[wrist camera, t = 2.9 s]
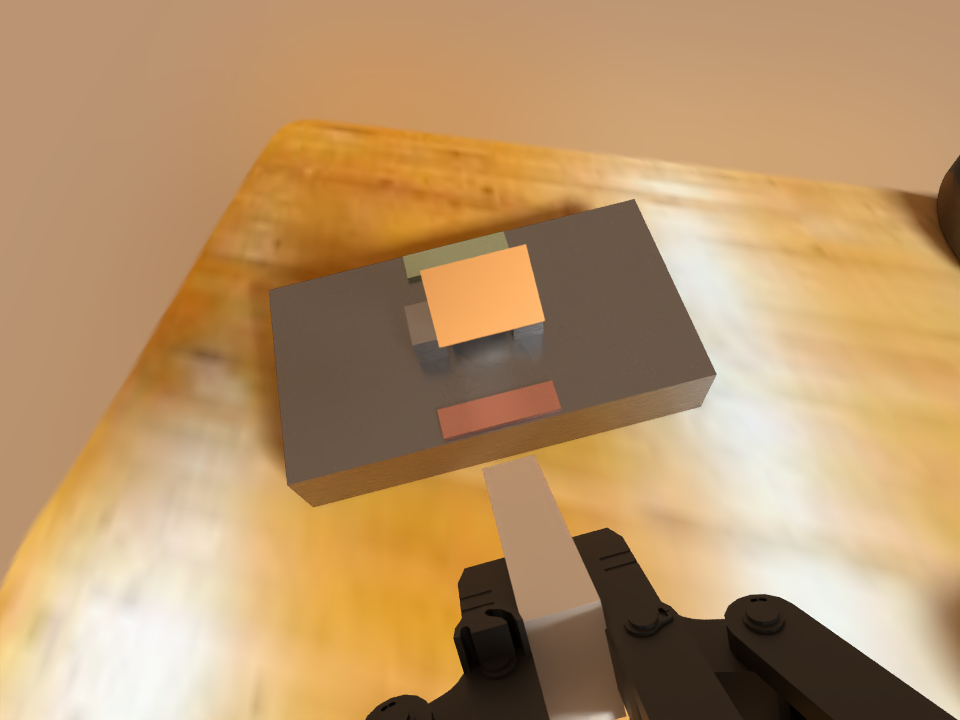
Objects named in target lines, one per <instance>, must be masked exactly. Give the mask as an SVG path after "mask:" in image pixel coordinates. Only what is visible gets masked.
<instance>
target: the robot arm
mask: <svg viewBox="0 0 960 720" xmlns="http://www.w3.org/2000/svg"><path fill="white" fill-rule="evenodd" d="M937 207H938V216H939V221H940V224H941V228H942V230H943V233H944V235H945V237H946V239H947V241H948V243H949V245H950V247H951V248H952V250H953V251H954V253H955V254H956V256H957V257H958V258H959V259H960V156H959V157H958V158H957V160H956V161H955V162H954V164H953V165H952V166H951V168H950V169H949V170H948V172H947V173H946V175H945V177H944V179H943V181H942V183H941V186H940V189H939V193H938V203H937ZM483 473H484V477H485V481H486V485H487V489H488V493H489V497H490V501H491V505H492V509H493V513H494V516H495V520H496V524H497V528H498V532H499V536H500V540H501V544H502V548H503V552H504V556H505V558H501V559H497V560H494V561H490V562H487V563H483V564H479V565H476V566H472V567H468V568H465V569H464V571H463V573H462V576H461V578H460V580H459V582H458V589H459V598H460V606H461V613H462V619H461V621H460V622H459V624H458V625H457V627H456V628H455V632H454V638H453V639H454V642H455V645H456V649H457V652H458V655H459V658H460V662H461V665H462V668H463V671H464V674H463V675H462V677H461V678H460V680H459V681H458V683H457V684H456V685H455V686H454V687H453V688H452V689H451V690H449V691H448V692H446V693H445V694H444V695H442V696H441V697H439V698H437V699H435V700H434V701H432V702H430V703H429V704H428V703H427V701H426V700H424V699H422V698H420V697H418V696H415V695H401V696H397V697H393V698H390V699H389V700H387V701H385V702H383V703H382V704H380V705H378V706H377V707H376V708H375V709H374V710H373V711H372V712H371V713H370V714H369V715H368V716H367V718H366V720H615V719H618V718H622V717H625V716H626V713H625V708H626V710H627V713H628V715H629V717H630V720H957V719H956V718H954V717H953V716H951V715H950V714H949V713H947V712H946V711H944V710H943V709H941V708H940V707H939V706H937V705H936V704H934V703H933V702H932V701H930V700H929V699H927V698H926V697H924V696H923V695H922V694H920V693H919V692H917V691H916V690H914V689H913V688H912V687H910V686H909V685H907V684H906V683H905V682H903V681H902V680H900V679H899V678H897V677H896V676H895V675H893V674H892V673H890V672H889V671H887V670H886V669H885V668H883V667H882V666H880V665H879V664H878V663H876V662H875V661H873V660H872V659H870V658H869V657H868V656H866V655H865V654H863V653H862V652H860V651H859V650H858V649H856V648H855V647H853V646H852V645H851V644H849V643H848V642H846V641H845V640H843V639H842V638H841V637H839V636H838V635H836V634H835V633H833V632H832V631H831V630H829V629H828V628H826V627H825V626H824V625H822V624H821V623H819V622H818V621H816V620H815V619H814V618H812V617H811V616H809V615H808V614H806V613H805V612H804V611H802V610H801V609H799V608H798V607H797V606H795V605H794V604H792V603H790V602H788V601H786V600H784V599H782V598H780V597H776V596H771V595H766V594H759V595H748V596H745V597H742V598H739V599H737V600H736V601H734V602H733V603H732V604H730V605H729V606H728V608H727V610H726V612H725V615H724V616H725V619H712V620H701V619H691V618H686V617H682V616H680V615H678V613H677V612H676V611H675V610H674V609H673V608H672V607H671V606H669V605H667V604H665V603H662V602H661V601H660V599H659V597H658V596H657V594H656V592H655V590H654V589H653V587H652V585H651V584H650V582H649V580H648V579H647V577H646V575H645V574H644V572H643V570H642V569H641V567H640V565H639V564H638V563H637V560H636V559H635V557H634V555H633V554H632V552H631V551H630V549H629V547H628V545H627V544H626V542H625V540H624V539H623V537H622V536H620V535H619V534H617V533H615V532H614V531H612V530H610V529H609V528H604V529H601V530H597V531H593V532H590V533H586V534H582V535H579V536H575V537H571V534H570V532H569V530H568V528H567V526H566V523H565V521H564V519H563V517H562V515H561V512H560V510H559V508H558V506H557V504H556V501H555V499H554V497H553V495H552V493H551V490H550V488H549V486H548V484H547V482H546V480H545V477H544V475H543V473H542V471H541V469H540V466H539V464H538V462H537V460H536V458H535V455H532V456H528V457H524V458H521V459H517V460H513V461H509V462H506V463H502V464H498V465H495V466H491V467H487V468H484V469H483ZM623 703H624V704H623ZM624 705H625V708H624Z"/></svg>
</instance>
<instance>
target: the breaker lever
mask: <svg viewBox="0 0 960 720" xmlns="http://www.w3.org/2000/svg"><path fill="white" fill-rule="evenodd" d="M420 274H421V277H422V281H423V285H424V289H425V293H426V297H427V301H428V305H429V309H430V313H431V317H432V320H433V324H434V328H435V332H436V336H437V340H438V344H439V348H442V347H446V346H450V345H454V344H458V343H462V342H466V341H470V340H473V339H477V338H481V337H485V336H489V335H493V334H497V333H501V332H505V331H509V330H513V329H517V328H521V327H525V326H529V325H533V324H536V323H539V322H543V321H545V318H544V314H543V310H542V306H541V302H540V298H539V294H538V290H537V286H536V282H535V278H534V274H533V271H532V267H531V263H530V259H529V255H528V251H527V247H526V244H525V245H521V246H517V247H513V248H509V249H505V250H501V251H497V252H493V253H489V254H485V255H481V256H477V257H473V258H469V259H465V260H461V261H457V262H453V263H449V264H445V265H441V266H437V267H433V268H429V269H425V270H421V271H420Z"/></svg>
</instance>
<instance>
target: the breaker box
mask: <svg viewBox="0 0 960 720" xmlns="http://www.w3.org/2000/svg"><path fill="white" fill-rule="evenodd" d="M525 244H526V247H527V251H528V255H529V259H530V263H531V267H532V271H533V274H534V278H535V282H536V286H537V290H538V294H539V298H540V302H541V306H542V310H543V314H544V318H545V321H543V322H539V323H536V324H533V325H529V326H525V327H521V328H517V329H513V330H509V331H505V332H501V333H497V334H493V335H489V336H485V337H481V338H477V339H473V340H470V341H466V342H462V343H458V344H454V345H450V346H446V347H442V348H439V344H438V340H437V336H436V332H435V328H434V324H433V320H432V317H431V313H430V309H429V305H428V301H427V297H426V293H425V289H424V285H423V281H422V277H421V274H420V271H421V270H425V269H429V268H433V267H437V266H441V265H445V264H449V263H453V262H457V261H461V260H465V259H469V258H473V257H477V256H481V255H485V254H489V253H493V252H497V251H501V250H505V249H509V248H513V247H517V246H521V245H525ZM269 297H270V308H271V318H272V329H273V339H274V350H275V360H276V371H277V382H278V392H279V403H280V413H281V424H282V434H283V445H284V455H285V466H286V476H287V485H288V486H289V487H290V488H291V489H292V490H294V491H295V492H296V493H297V494H298V495H299V496H301V497H302V498H303V499H304V500H305V501H307V502H308V503H309V504H310V505H311V506H313V507H316V506H320V505H324V504H328V503H331V502H335V501H339V500H343V499H347V498H351V497H355V496H358V495H362V494H366V493H370V492H374V491H378V490H381V489H385V488H389V487H393V486H397V485H401V484H405V483H408V482H412V481H416V480H420V479H424V478H428V477H432V476H435V475H439V474H443V473H447V472H451V471H455V470H458V469H462V468H466V467H470V466H474V465H478V464H482V463H485V462H489V461H493V460H497V459H501V458H505V457H509V456H512V455H516V454H520V453H524V452H528V451H532V450H536V449H539V448H543V447H547V446H551V445H555V444H559V443H562V442H566V441H570V440H574V439H578V438H582V437H586V436H589V435H593V434H597V433H601V432H605V431H609V430H613V429H616V428H620V427H624V426H628V425H632V424H636V423H640V422H643V421H647V420H651V419H655V418H659V417H663V416H666V415H670V414H674V413H678V412H682V411H686V410H690V409H693V408H697V407H700V406H701V404H702V402H703V400H704V398H705V397H706V395H707V393H708V391H709V389H710V387H711V385H712V383H713V381H714V379H715V377H716V375H717V374H716V372H715V370H714V368H713V366H712V363H711V361H710V359H709V357H708V355H707V353H706V351H705V349H704V346H703V344H702V342H701V340H700V338H699V336H698V334H697V331H696V329H695V327H694V325H693V323H692V321H691V319H690V317H689V314H688V312H687V310H686V308H685V306H684V304H683V302H682V300H681V297H680V295H679V293H678V291H677V289H676V287H675V285H674V282H673V280H672V278H671V276H670V274H669V272H668V270H667V268H666V265H665V263H664V261H663V259H662V257H661V255H660V253H659V250H658V248H657V246H656V244H655V242H654V240H653V238H652V236H651V233H650V231H649V229H648V227H647V225H646V223H645V221H644V219H643V216H642V214H641V212H640V210H639V208H638V206H637V204H636V201H635V199H633V200H629V201H625V202H621V203H617V204H613V205H609V206H605V207H601V208H597V209H593V210H589V211H585V212H581V213H577V214H573V215H569V216H565V217H561V218H557V219H553V220H549V221H545V222H541V223H537V224H533V225H529V226H525V227H521V228H517V229H513V230H509V231H505V232H503V231H502V232H498V233H494V234H490V235H486V236H482V237H478V238H474V239H470V240H466V241H462V242H458V243H454V244H450V245H446V246H442V247H438V248H434V249H430V250H426V251H422V252H418V253H414V254H410V255H406V256H403V257H401V258H397V259H393V260H389V261H385V262H381V263H377V264H373V265H369V266H365V267H360V268H356V269H352V270H348V271H344V272H340V273H336V274H332V275H328V276H324V277H320V278H316V279H312V280H308V281H304V282H300V283H296V284H292V285H288V286H284V287H280V288H276V289H272V290H269Z"/></svg>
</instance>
